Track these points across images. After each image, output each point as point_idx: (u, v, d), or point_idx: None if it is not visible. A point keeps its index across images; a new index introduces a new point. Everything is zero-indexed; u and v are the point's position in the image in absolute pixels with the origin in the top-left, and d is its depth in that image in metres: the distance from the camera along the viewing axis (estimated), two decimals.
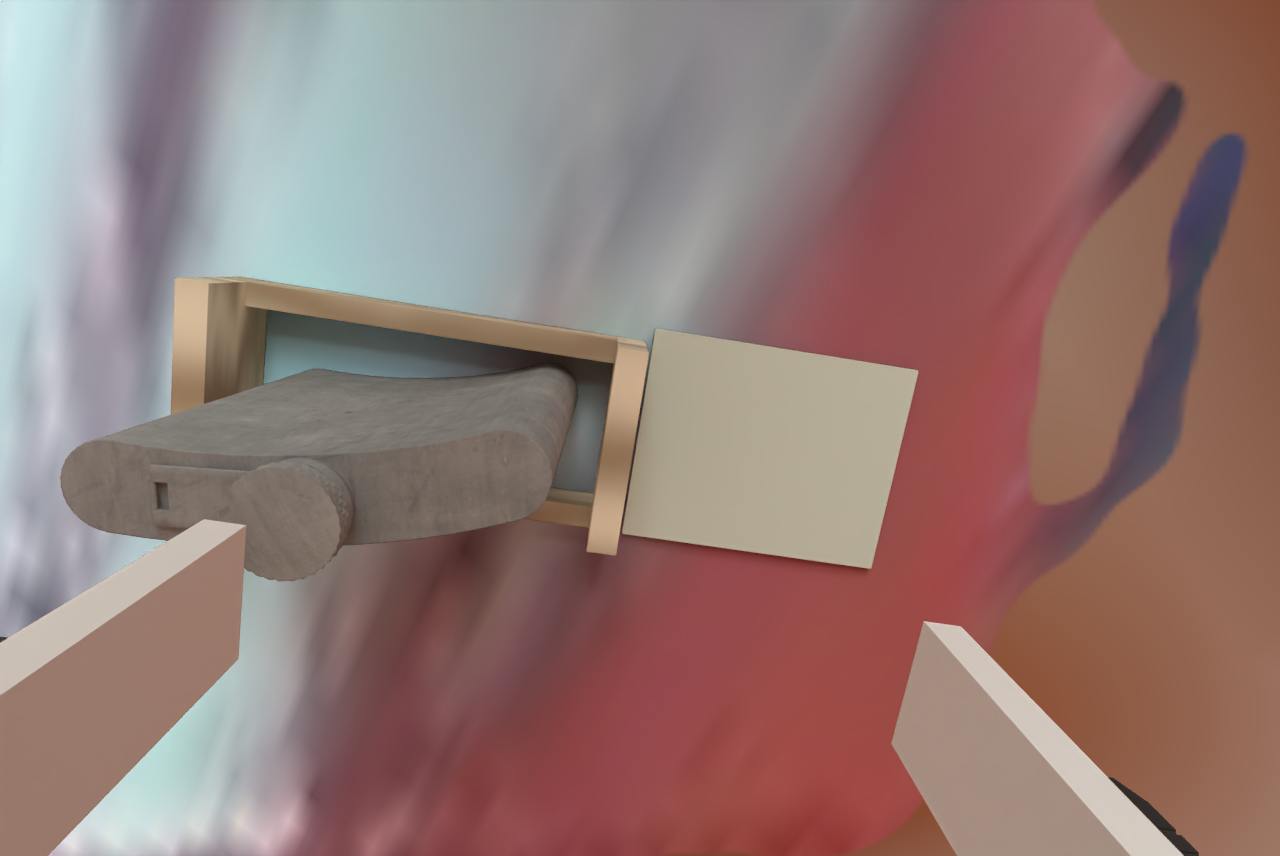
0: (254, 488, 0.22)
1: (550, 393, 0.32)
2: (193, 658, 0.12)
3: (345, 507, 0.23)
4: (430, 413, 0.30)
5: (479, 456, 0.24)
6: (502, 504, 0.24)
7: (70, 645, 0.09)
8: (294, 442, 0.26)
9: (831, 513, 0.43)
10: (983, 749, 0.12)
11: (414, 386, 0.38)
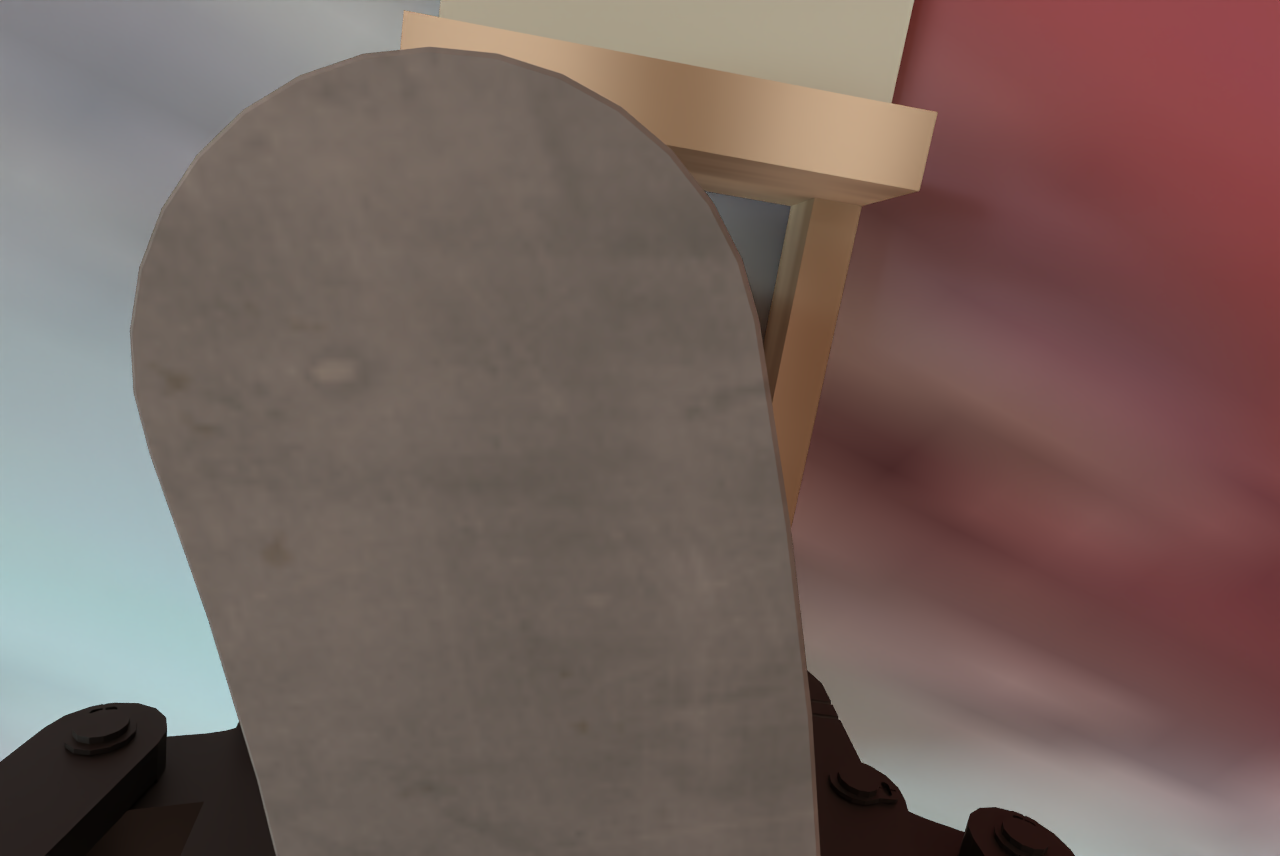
0: None
1: None
2: None
3: None
4: None
5: (321, 529, 0.04)
6: (643, 410, 0.04)
7: None
8: None
9: None
10: None
11: None
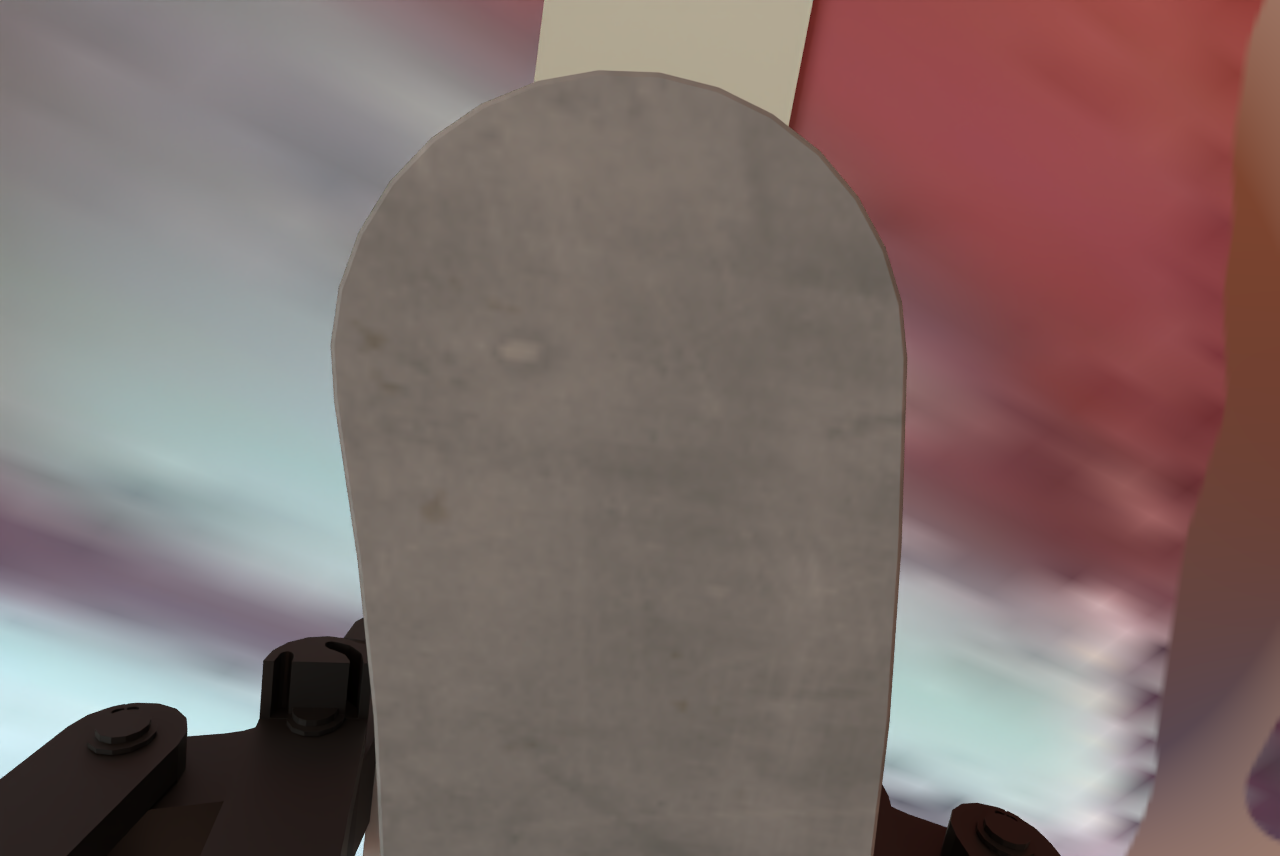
0: None
1: None
2: None
3: None
4: None
5: (479, 493, 0.04)
6: (791, 424, 0.04)
7: None
8: None
9: None
10: None
11: None
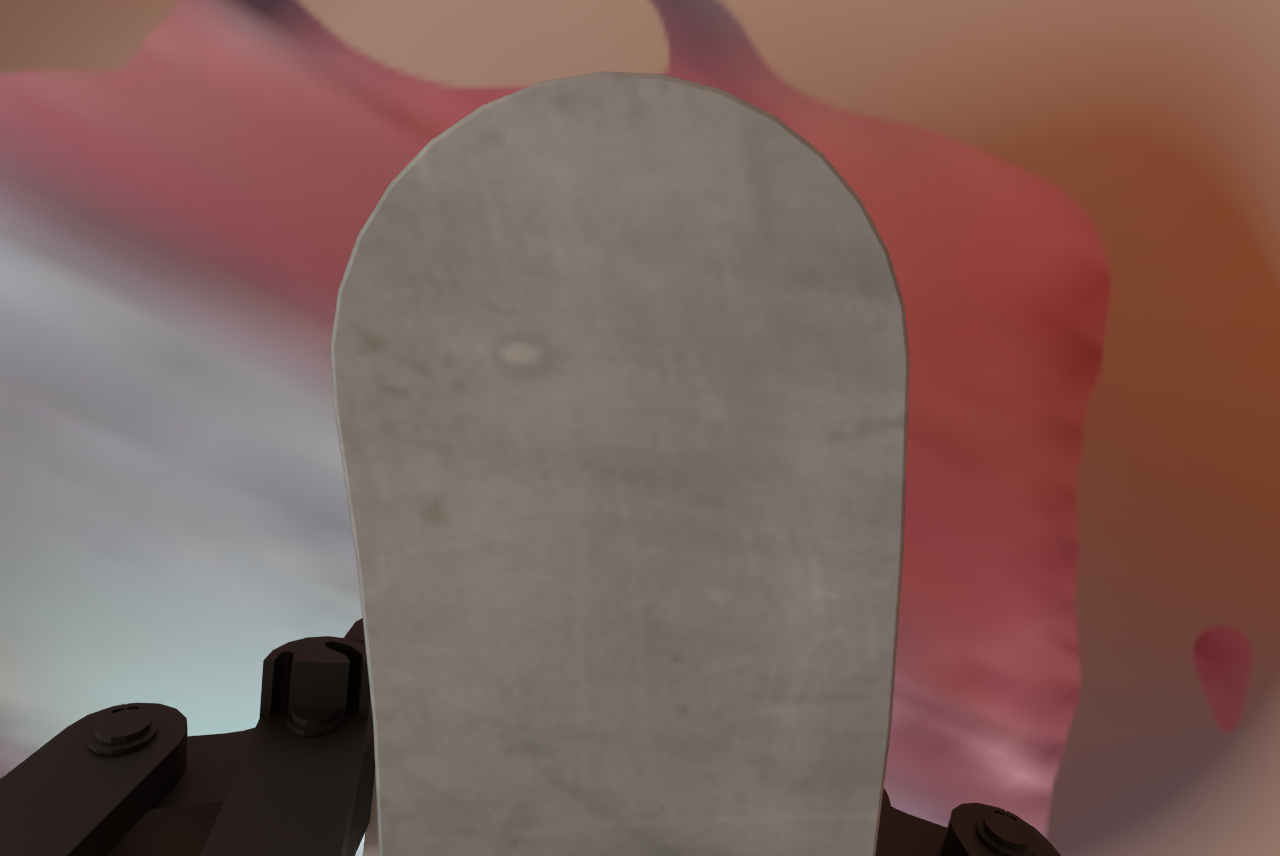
0: None
1: None
2: None
3: None
4: None
5: (479, 496, 0.04)
6: (792, 428, 0.04)
7: None
8: None
9: None
10: None
11: None
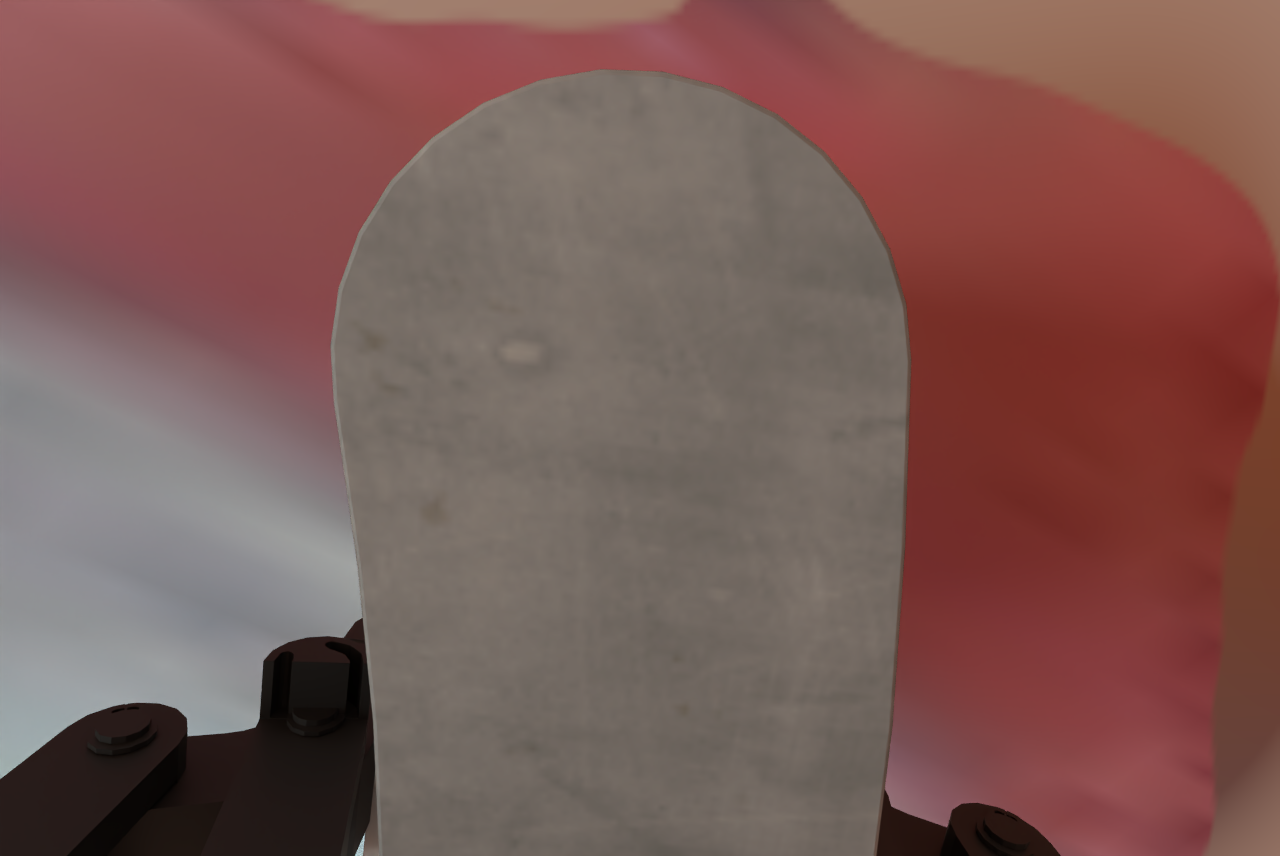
0: None
1: None
2: None
3: None
4: None
5: (479, 495, 0.04)
6: (794, 426, 0.04)
7: None
8: None
9: None
10: None
11: None
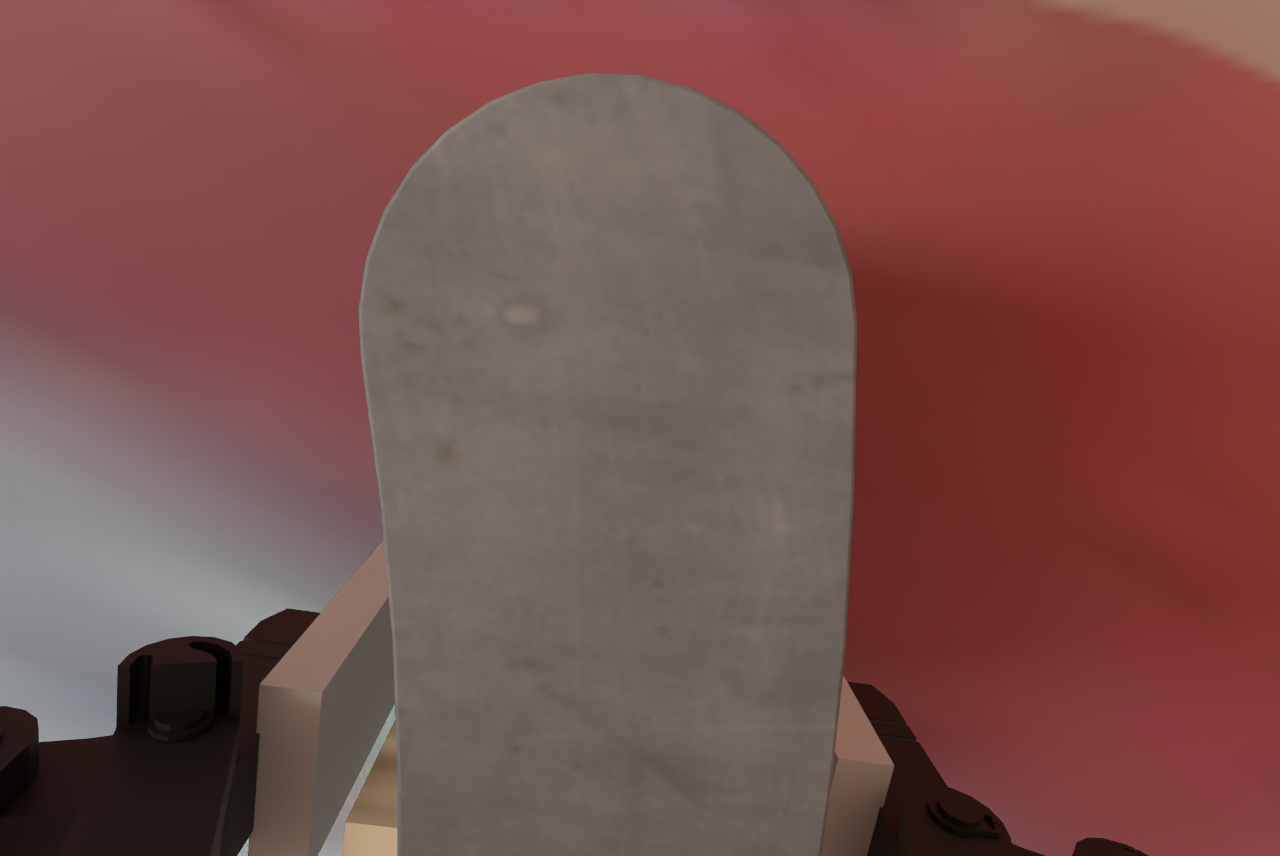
0: None
1: None
2: None
3: None
4: None
5: (486, 440, 0.05)
6: (757, 380, 0.05)
7: (373, 614, 0.11)
8: None
9: None
10: None
11: None
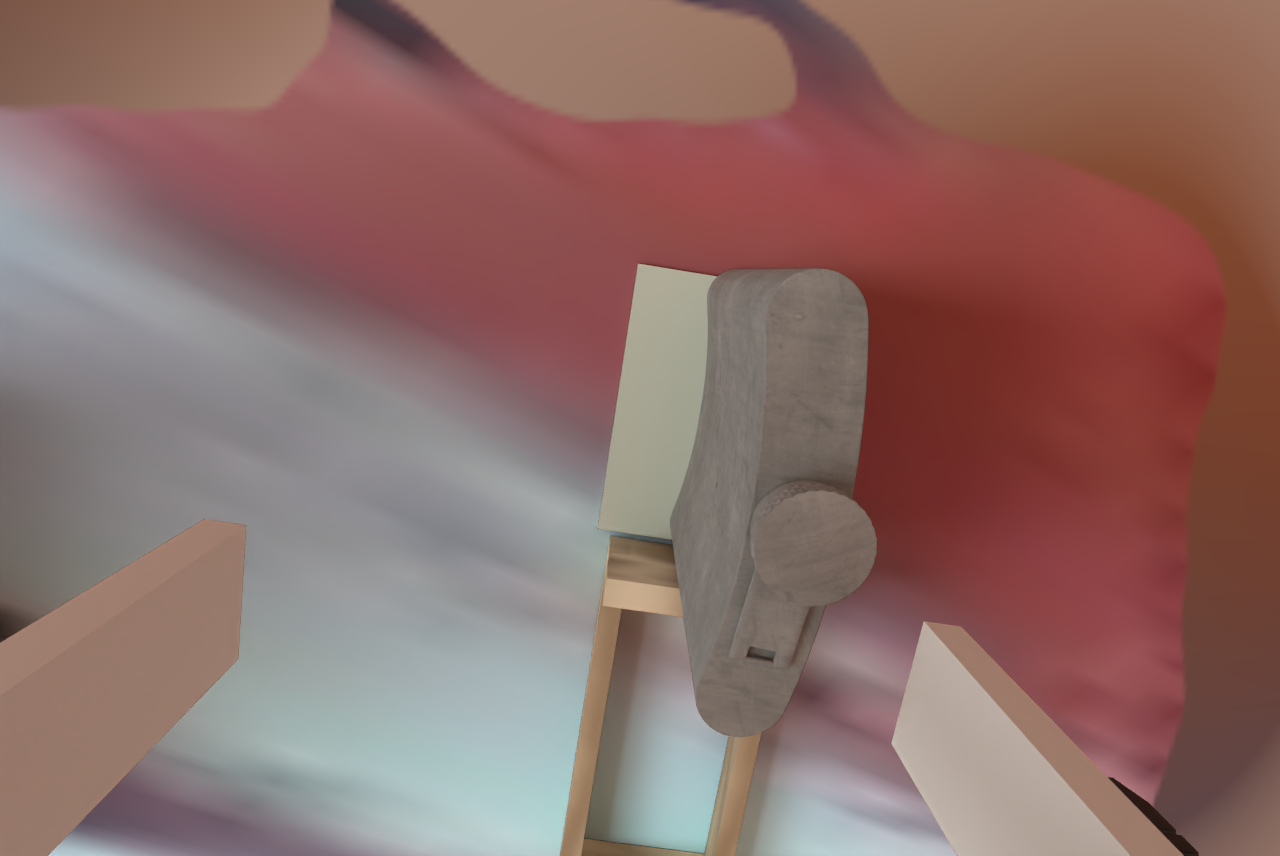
0: (772, 562, 0.21)
1: (738, 281, 0.30)
2: (193, 658, 0.12)
3: (812, 484, 0.22)
4: (733, 403, 0.29)
5: (789, 343, 0.22)
6: (847, 330, 0.22)
7: (70, 645, 0.09)
8: (735, 528, 0.26)
9: None
10: (983, 749, 0.12)
11: (704, 428, 0.38)
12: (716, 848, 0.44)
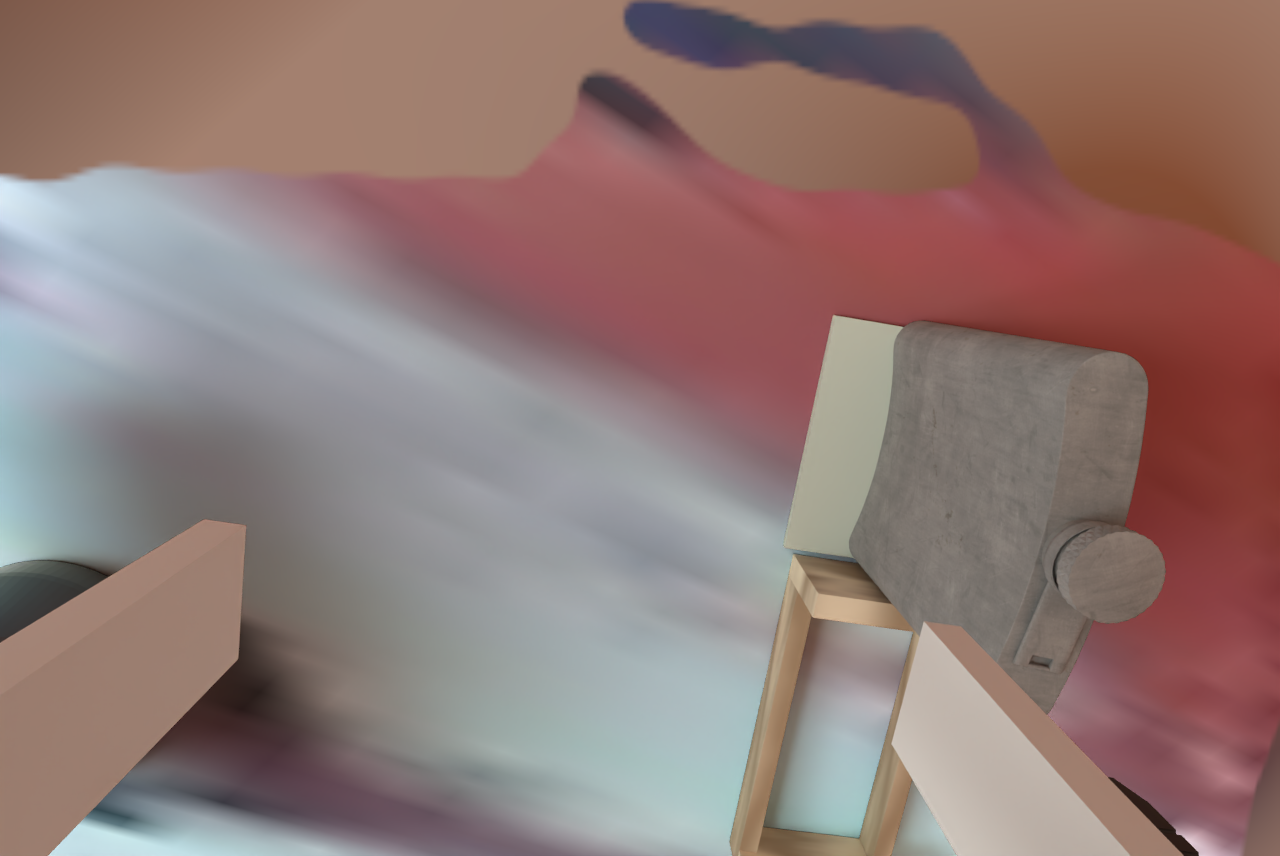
0: (1083, 588, 0.27)
1: (970, 343, 0.36)
2: (193, 658, 0.12)
3: (1111, 525, 0.27)
4: (976, 448, 0.34)
5: (1083, 410, 0.28)
6: (1130, 400, 0.28)
7: (70, 645, 0.09)
8: (1007, 557, 0.31)
9: None
10: (983, 749, 0.12)
11: (899, 462, 0.43)
12: (879, 832, 0.50)
